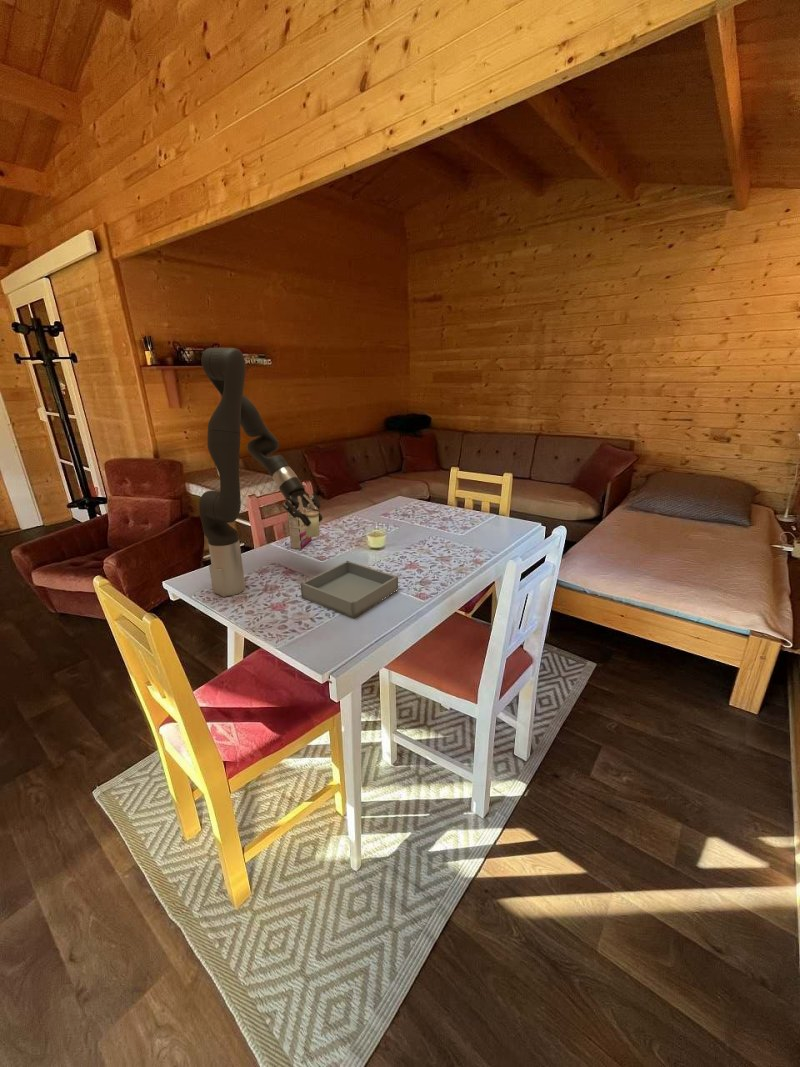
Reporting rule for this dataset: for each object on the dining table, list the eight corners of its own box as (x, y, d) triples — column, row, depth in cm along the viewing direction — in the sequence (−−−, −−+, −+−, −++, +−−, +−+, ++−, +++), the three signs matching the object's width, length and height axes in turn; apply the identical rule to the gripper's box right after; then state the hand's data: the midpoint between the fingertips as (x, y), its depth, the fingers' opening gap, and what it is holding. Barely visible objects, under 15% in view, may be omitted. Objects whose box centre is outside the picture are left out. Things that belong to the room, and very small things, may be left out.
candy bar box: (301, 539, 192) (298, 502, 187) (312, 539, 191) (309, 502, 186) (290, 548, 182) (286, 510, 176) (301, 549, 181) (298, 510, 175)
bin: (353, 618, 131) (353, 603, 129) (301, 597, 143) (300, 583, 141) (397, 590, 148) (398, 576, 146) (348, 573, 160) (347, 560, 158)
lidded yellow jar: (312, 538, 151) (311, 515, 148) (302, 535, 154) (301, 513, 151) (323, 534, 155) (321, 512, 152) (313, 531, 157) (311, 509, 155)
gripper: (276, 480, 147) (304, 522, 144) (308, 473, 158) (335, 511, 155) (267, 493, 151) (294, 534, 149) (299, 485, 162) (324, 523, 160)
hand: (314, 522), depth 152 cm, fingers closed on lidded yellow jar, 4 cm apart
